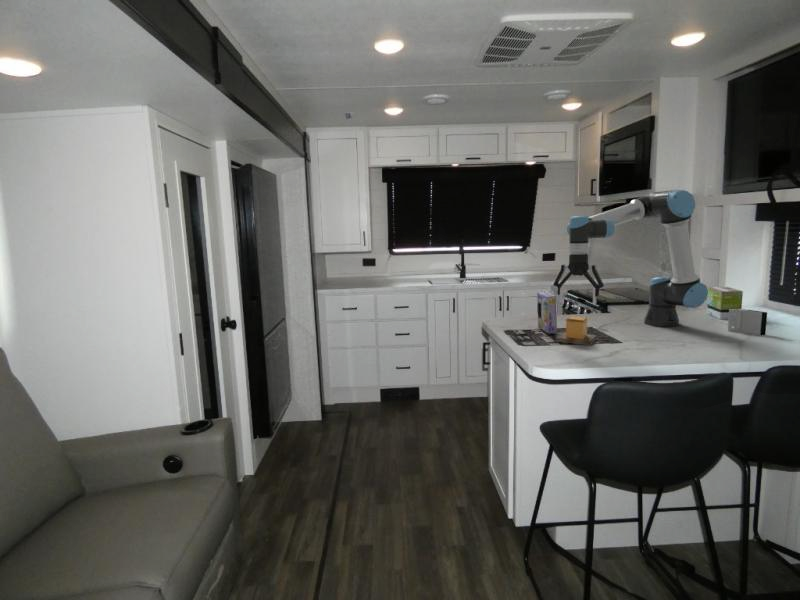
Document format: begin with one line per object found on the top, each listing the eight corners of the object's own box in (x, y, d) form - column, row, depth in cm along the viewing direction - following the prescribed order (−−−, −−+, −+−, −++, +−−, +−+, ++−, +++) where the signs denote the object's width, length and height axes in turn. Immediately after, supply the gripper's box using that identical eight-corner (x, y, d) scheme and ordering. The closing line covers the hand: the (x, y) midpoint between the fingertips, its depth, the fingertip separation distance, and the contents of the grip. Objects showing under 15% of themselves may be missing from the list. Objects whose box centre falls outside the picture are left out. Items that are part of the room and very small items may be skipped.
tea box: (705, 314, 262) (707, 286, 260) (726, 314, 261) (728, 286, 258) (719, 319, 247) (722, 290, 245) (741, 319, 246) (743, 290, 244)
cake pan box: (536, 325, 245) (536, 290, 242) (546, 325, 245) (546, 290, 242) (546, 334, 226) (546, 296, 223) (557, 334, 226) (558, 296, 223)
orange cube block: (586, 335, 213) (587, 317, 212) (582, 338, 207) (583, 320, 206) (570, 333, 217) (570, 316, 216) (565, 337, 211) (566, 318, 210)
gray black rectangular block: (726, 331, 223) (728, 309, 222) (731, 329, 226) (733, 307, 225) (763, 336, 212) (765, 313, 211) (767, 334, 215) (769, 311, 214)
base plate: (596, 339, 213) (596, 335, 213) (589, 345, 204) (589, 341, 203) (563, 336, 221) (563, 332, 221) (555, 342, 211) (555, 337, 211)
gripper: (546, 253, 210) (545, 302, 214) (608, 254, 197) (606, 306, 200) (551, 252, 217) (551, 300, 220) (612, 252, 203) (610, 303, 206)
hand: (577, 303), depth 210 cm, fingers open, 13 cm apart
